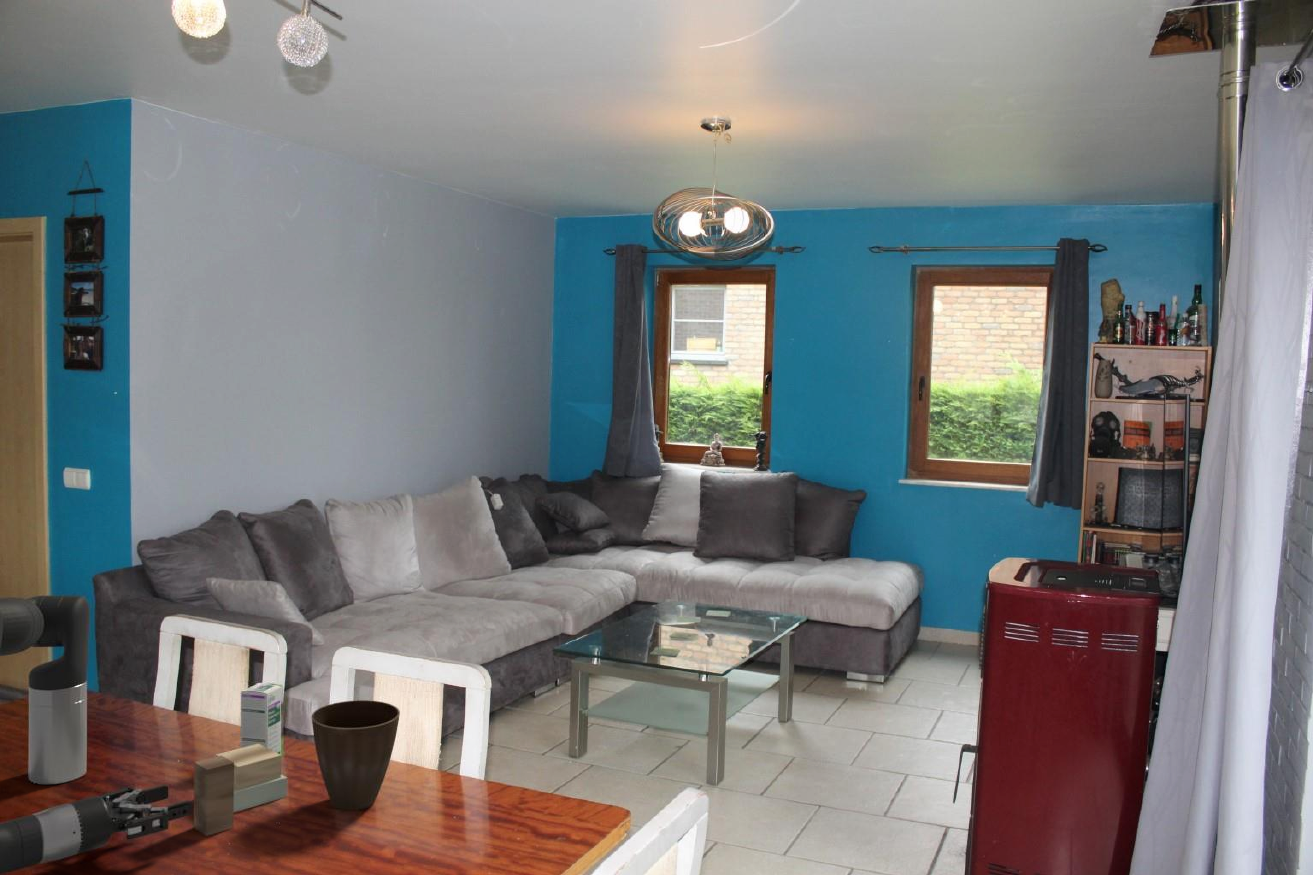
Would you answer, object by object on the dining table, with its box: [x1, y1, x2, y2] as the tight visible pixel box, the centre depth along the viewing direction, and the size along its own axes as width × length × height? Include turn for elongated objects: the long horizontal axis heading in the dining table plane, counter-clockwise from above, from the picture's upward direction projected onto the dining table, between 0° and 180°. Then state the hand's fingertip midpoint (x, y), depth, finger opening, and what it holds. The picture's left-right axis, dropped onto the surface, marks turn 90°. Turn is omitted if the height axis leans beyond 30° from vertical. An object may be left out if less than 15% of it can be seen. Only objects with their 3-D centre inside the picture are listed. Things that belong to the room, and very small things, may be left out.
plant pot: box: [311, 699, 401, 811], centre depth 182 cm, size 15×15×16 cm
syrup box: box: [240, 682, 284, 759], centre depth 200 cm, size 6×6×14 cm
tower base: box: [234, 773, 288, 813], centre depth 183 cm, size 10×10×4 cm
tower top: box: [215, 744, 282, 790], centre depth 183 cm, size 8×8×4 cm
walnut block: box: [193, 755, 234, 837], centre depth 170 cm, size 4×4×11 cm
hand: (178, 798), depth 166 cm, fingers open, 8 cm apart
